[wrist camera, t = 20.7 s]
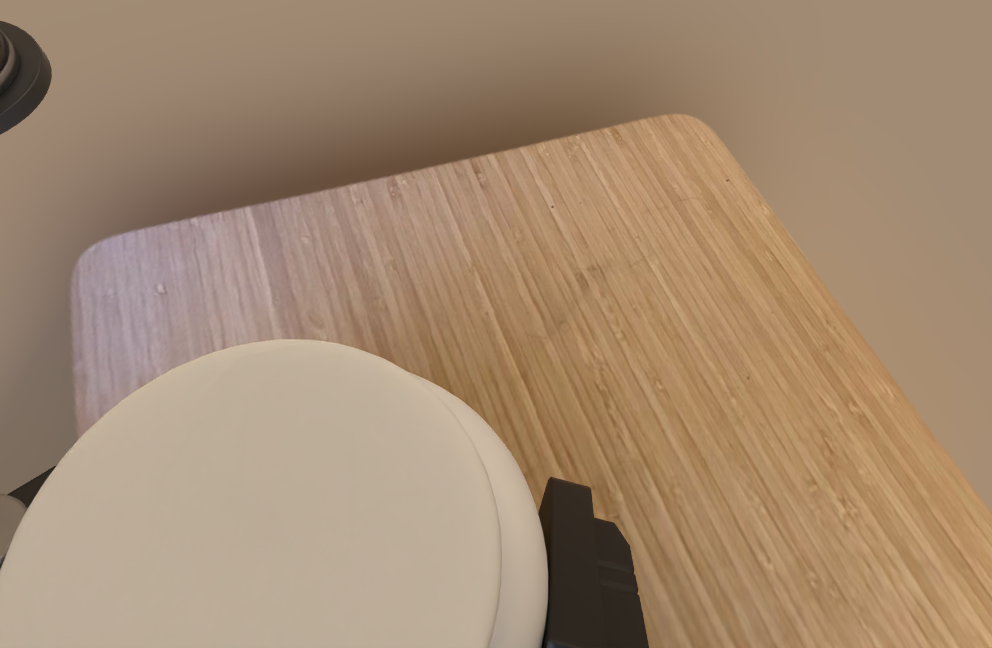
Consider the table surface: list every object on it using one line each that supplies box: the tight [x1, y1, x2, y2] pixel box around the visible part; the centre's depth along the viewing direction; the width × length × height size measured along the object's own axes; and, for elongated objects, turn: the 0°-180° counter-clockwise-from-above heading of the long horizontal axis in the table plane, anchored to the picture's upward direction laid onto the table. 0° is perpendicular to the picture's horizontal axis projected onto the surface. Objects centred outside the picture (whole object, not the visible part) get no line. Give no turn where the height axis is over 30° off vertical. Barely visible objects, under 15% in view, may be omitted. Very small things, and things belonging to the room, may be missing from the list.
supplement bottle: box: [0, 339, 548, 648], centre depth 9 cm, size 6×6×10 cm
